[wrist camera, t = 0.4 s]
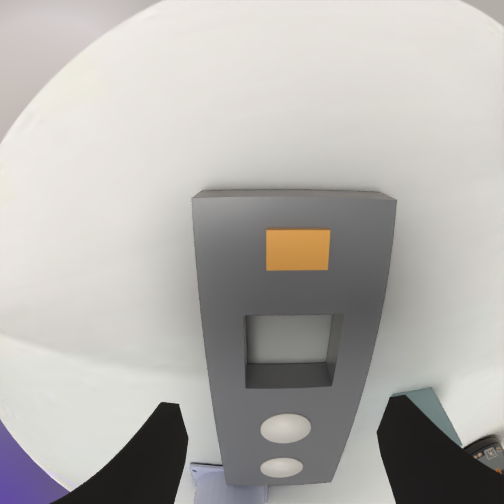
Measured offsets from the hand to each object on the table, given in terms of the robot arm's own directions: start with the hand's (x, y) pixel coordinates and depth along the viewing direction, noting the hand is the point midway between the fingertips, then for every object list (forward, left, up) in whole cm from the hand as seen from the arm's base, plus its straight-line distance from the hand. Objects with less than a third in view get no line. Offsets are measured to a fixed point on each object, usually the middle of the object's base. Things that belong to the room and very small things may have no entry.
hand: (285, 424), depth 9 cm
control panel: (-7, -1, -10) cm, 12 cm away
